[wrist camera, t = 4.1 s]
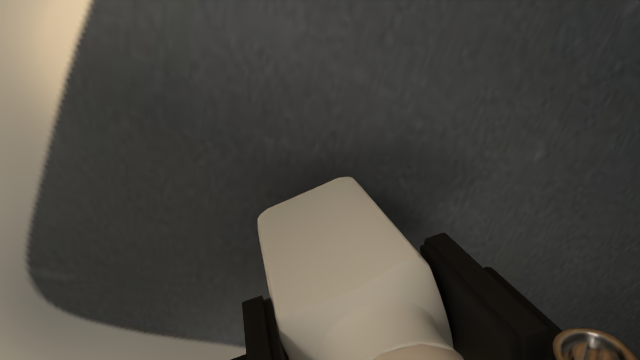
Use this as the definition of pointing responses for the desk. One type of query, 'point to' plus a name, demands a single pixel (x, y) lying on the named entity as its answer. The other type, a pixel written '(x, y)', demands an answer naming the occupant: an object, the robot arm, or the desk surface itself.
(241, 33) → the desk surface
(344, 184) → the pepper shaker
